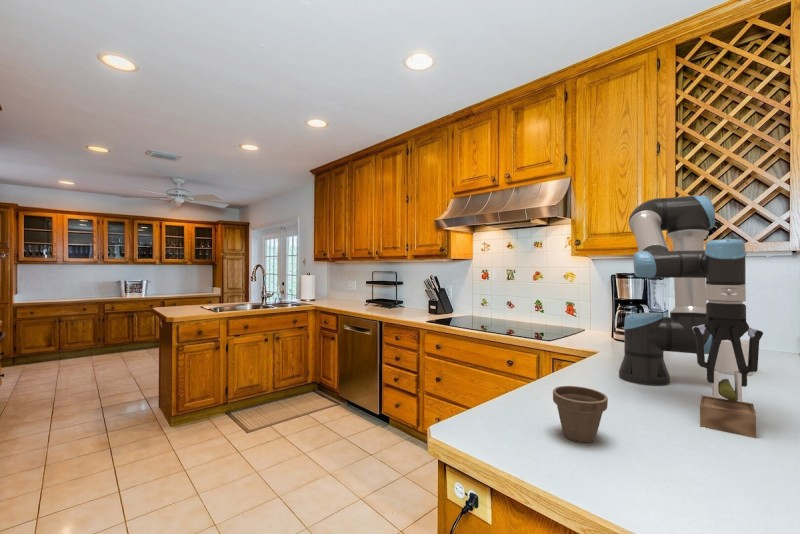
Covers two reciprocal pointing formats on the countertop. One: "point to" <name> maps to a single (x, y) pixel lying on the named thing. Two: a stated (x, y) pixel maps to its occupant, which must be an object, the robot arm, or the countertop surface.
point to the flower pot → (579, 411)
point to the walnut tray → (728, 416)
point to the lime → (727, 390)
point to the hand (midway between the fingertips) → (726, 397)
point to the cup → (730, 357)
